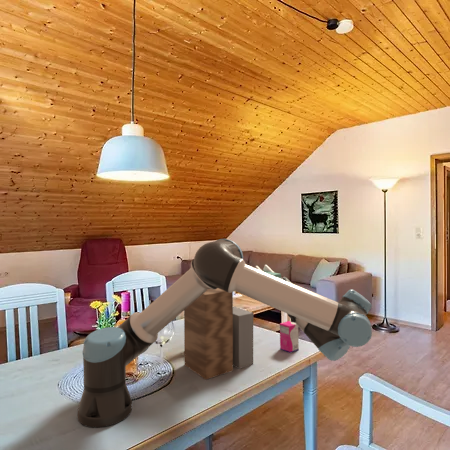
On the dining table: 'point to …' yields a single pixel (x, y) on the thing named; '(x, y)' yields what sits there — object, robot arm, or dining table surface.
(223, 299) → the stand
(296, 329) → the supplement box
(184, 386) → the dining table surface
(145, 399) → the dining table surface
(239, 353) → the base block
